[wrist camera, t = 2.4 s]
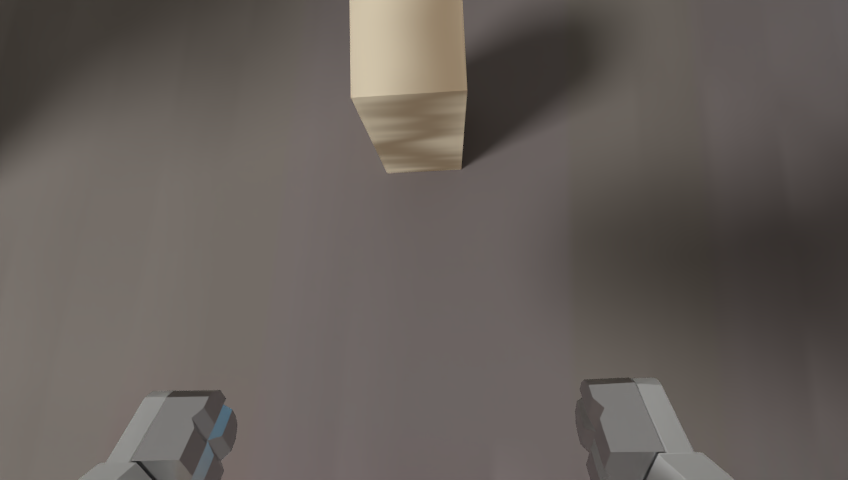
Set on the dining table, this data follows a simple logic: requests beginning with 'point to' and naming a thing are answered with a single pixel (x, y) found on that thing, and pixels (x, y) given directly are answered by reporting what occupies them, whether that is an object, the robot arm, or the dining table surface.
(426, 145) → the beech block
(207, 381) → the dining table surface
